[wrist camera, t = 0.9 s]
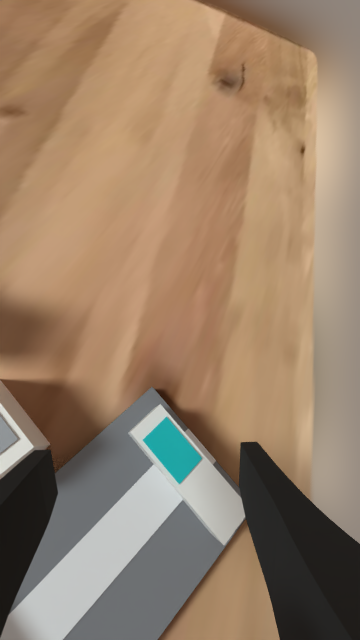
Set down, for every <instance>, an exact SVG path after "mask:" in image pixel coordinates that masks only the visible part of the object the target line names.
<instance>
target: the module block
mask: <svg viewBox="0 0 360 640" xmlns="http://www.w3.org/2000/svg"><path fill="white" fill-rule="evenodd" d="M50 445H51V444H50V443H49V442H48V440H47V439H46V438H45V437H44V435H43V434H42V433H41V431H40V430H39V429H38V428H37V426H36V425H35V424H34V422H33V421H32V420H31V419H30V417H29V416H28V415H27V413H26V412H25V411H24V410H23V408H22V407H21V406H20V404H19V403H18V402H17V401H16V399H15V398H14V397H13V395H12V394H11V393H10V392H9V390H8V389H7V388H6V386H5V385H4V384H3V383H2V381H1V380H0V479H1V478H2V477H4V476H5V475H6V474H7V473H8V472H9V471H10V470H12V469H13V468H14V467H15V466H16V465H17V464H18V463H20V462H21V461H22V460H23V459H24V458H25V457H27V456H28V455H29V454H30V453H32V452H33V451H34V450H45V449H46V448H47V447H48V446H50Z"/></svg>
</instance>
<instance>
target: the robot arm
mask: <svg viewBox="0 0 360 640" xmlns="http://www.w3.org/2000/svg"><path fill="white" fill-rule="evenodd" d="M239 488H240V493H241V498H242V503H243V508H244V513H245V517H246V520H247V523H248V527H249V530H250V533H251V536H252V540H253V543H254V546H255V549H256V552H257V556H258V559H259V562H260V565H261V568H262V572H263V575H264V578H265V581H266V584H267V588H268V592H269V595H270V599H271V602H272V607H273V611H274V615H275V620H276V624H277V628H278V633H279V637H280V640H360V544H359V543H358V542H357V541H355V540H354V539H353V538H352V537H350V536H349V535H348V534H347V533H345V532H344V531H343V530H342V529H341V528H340V527H338V526H337V525H336V524H335V523H334V522H333V521H331V520H330V519H329V518H328V517H327V516H326V515H325V514H324V513H323V512H321V511H320V510H319V509H318V508H317V507H316V506H315V505H314V504H313V503H312V502H311V501H310V500H309V499H308V498H307V497H306V496H305V495H304V494H303V493H302V492H301V491H300V490H299V489H298V488H297V487H296V486H295V485H294V484H293V483H292V481H291V480H290V479H289V478H288V477H287V476H286V475H285V474H284V473H283V472H282V471H281V469H280V468H279V467H278V466H277V465H276V464H275V463H274V461H273V460H272V459H271V458H270V457H269V455H268V454H267V453H266V452H265V451H264V449H263V448H262V447H261V446H260V445H259V444H258V443H257V442H241V448H240V474H239ZM57 495H58V489H57V483H56V478H55V472H54V466H53V461H52V455H51V450H34V451H33V452H32V453H30V454H29V455H28V456H27V457H25V458H24V459H23V460H22V461H21V462H20V463H18V464H17V465H16V466H15V467H14V468H13V469H12V470H10V471H9V472H8V473H7V474H6V475H5V476H4V477H2V478H1V479H0V637H1V635H2V632H3V629H4V626H5V623H6V621H7V618H8V615H9V613H10V610H11V608H12V605H13V603H14V600H15V598H16V596H17V593H18V591H19V589H20V587H21V584H22V582H23V580H24V578H25V575H26V573H27V571H28V569H29V567H30V564H31V562H32V560H33V558H34V555H35V553H36V551H37V549H38V546H39V544H40V542H41V540H42V537H43V535H44V533H45V530H46V528H47V526H48V523H49V521H50V518H51V515H52V512H53V508H54V505H55V502H56V499H57Z"/></svg>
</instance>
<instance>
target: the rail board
mask: <svg viewBox="0 0 360 640" xmlns="http://www.w3.org/2000/svg"><path fill="white" fill-rule="evenodd" d="M55 478H56V483H57V489H58V495H57V499H56V502H55V505H54V508H53V512H52V515H51V518H50V521H49V523H48V526H47V528H46V530H45V533H44V535H43V537H42V540H41V542H40V544H39V546H38V549H37V551H36V553H35V555H34V558H33V560H32V562H31V564H30V567H29V569H28V571H27V573H26V575H25V578H24V580H23V582H22V584H21V587H20V589H19V591H18V593H17V596H16V598H15V600H14V603H13V605H12V608H11V610H10V613H9V615H8V618H7V621H6V623H5V626H4V629H3V632H2V635H1V637H0V640H158V638H159V637H160V636H161V634H162V633H163V632H164V630H165V629H166V627H167V626H168V625H169V623H170V622H171V621H172V619H173V618H174V616H175V615H176V614H177V612H178V611H179V610H180V608H181V607H182V605H183V604H184V603H185V601H186V600H187V599H188V597H189V596H190V594H191V593H192V592H193V590H194V589H195V588H196V586H197V585H198V583H199V582H200V581H201V579H202V578H203V577H204V575H205V574H206V573H207V571H208V570H209V568H210V567H211V566H212V564H213V563H214V562H215V560H216V559H217V557H218V556H219V555H220V553H221V552H222V551H223V549H224V548H225V546H226V545H227V544H228V542H229V541H230V540H231V538H232V537H233V535H234V534H235V533H236V531H237V530H238V529H239V527H240V526H241V524H242V523H243V522H244V520H245V519H246V517H245V513H244V508H243V503H242V498H241V493H240V488H239V487H238V486H237V485H236V483H235V482H234V481H233V480H232V479H231V478H230V476H229V475H228V474H227V473H226V472H225V471H224V470H223V468H222V467H221V466H220V465H219V464H218V463H217V461H216V460H215V459H214V458H213V456H212V455H211V454H210V453H209V452H208V451H207V449H206V448H205V447H204V446H203V445H202V444H201V442H200V441H199V440H198V439H197V438H196V437H195V435H194V434H193V433H192V432H191V431H190V430H189V429H188V428H187V427H186V425H185V424H184V423H183V422H182V421H181V420H180V418H179V417H178V416H177V415H176V414H175V413H174V411H173V410H172V409H171V408H170V407H169V406H168V405H167V403H166V402H165V401H164V400H163V399H162V398H161V396H160V395H159V394H158V393H157V392H156V391H155V389H154V388H153V387H151V388H150V389H149V390H148V391H147V392H146V393H145V394H143V395H142V396H141V397H140V398H139V399H138V400H137V401H136V402H134V403H133V404H132V405H131V406H130V407H129V408H128V409H127V410H125V411H124V412H123V413H122V414H121V415H120V416H119V417H118V418H117V419H115V420H114V421H113V422H112V423H111V424H110V425H109V426H108V427H106V428H105V429H104V430H103V431H102V432H101V433H100V434H99V435H98V436H96V437H95V438H94V439H93V440H92V441H91V442H90V443H89V444H87V445H86V446H85V447H84V448H83V449H82V450H81V451H80V452H78V453H77V454H76V455H75V456H74V457H73V458H72V459H71V460H70V461H68V462H67V463H66V464H65V465H64V466H63V467H62V468H61V469H59V470H58V471H57V472H56V473H55Z"/></svg>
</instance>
